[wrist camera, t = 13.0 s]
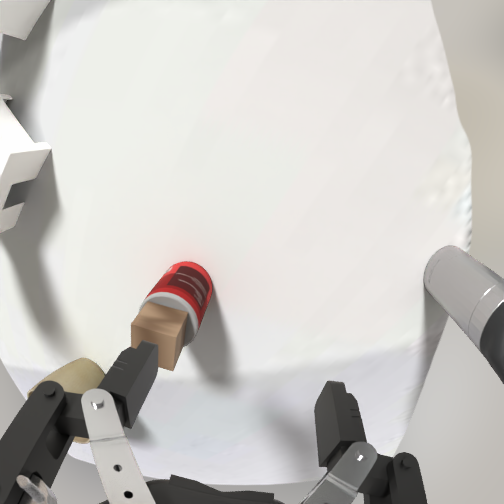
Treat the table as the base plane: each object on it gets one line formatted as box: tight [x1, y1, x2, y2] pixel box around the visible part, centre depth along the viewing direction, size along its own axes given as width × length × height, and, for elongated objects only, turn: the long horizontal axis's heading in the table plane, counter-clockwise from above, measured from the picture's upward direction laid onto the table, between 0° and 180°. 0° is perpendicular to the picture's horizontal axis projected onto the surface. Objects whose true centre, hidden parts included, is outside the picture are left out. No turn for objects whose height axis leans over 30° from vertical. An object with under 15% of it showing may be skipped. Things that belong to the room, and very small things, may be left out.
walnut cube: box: [131, 301, 188, 371], centre depth 31 cm, size 5×5×5 cm
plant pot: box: [27, 358, 105, 444], centre depth 45 cm, size 15×15×16 cm
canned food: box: [139, 262, 212, 347], centre depth 38 cm, size 8×8×11 cm
